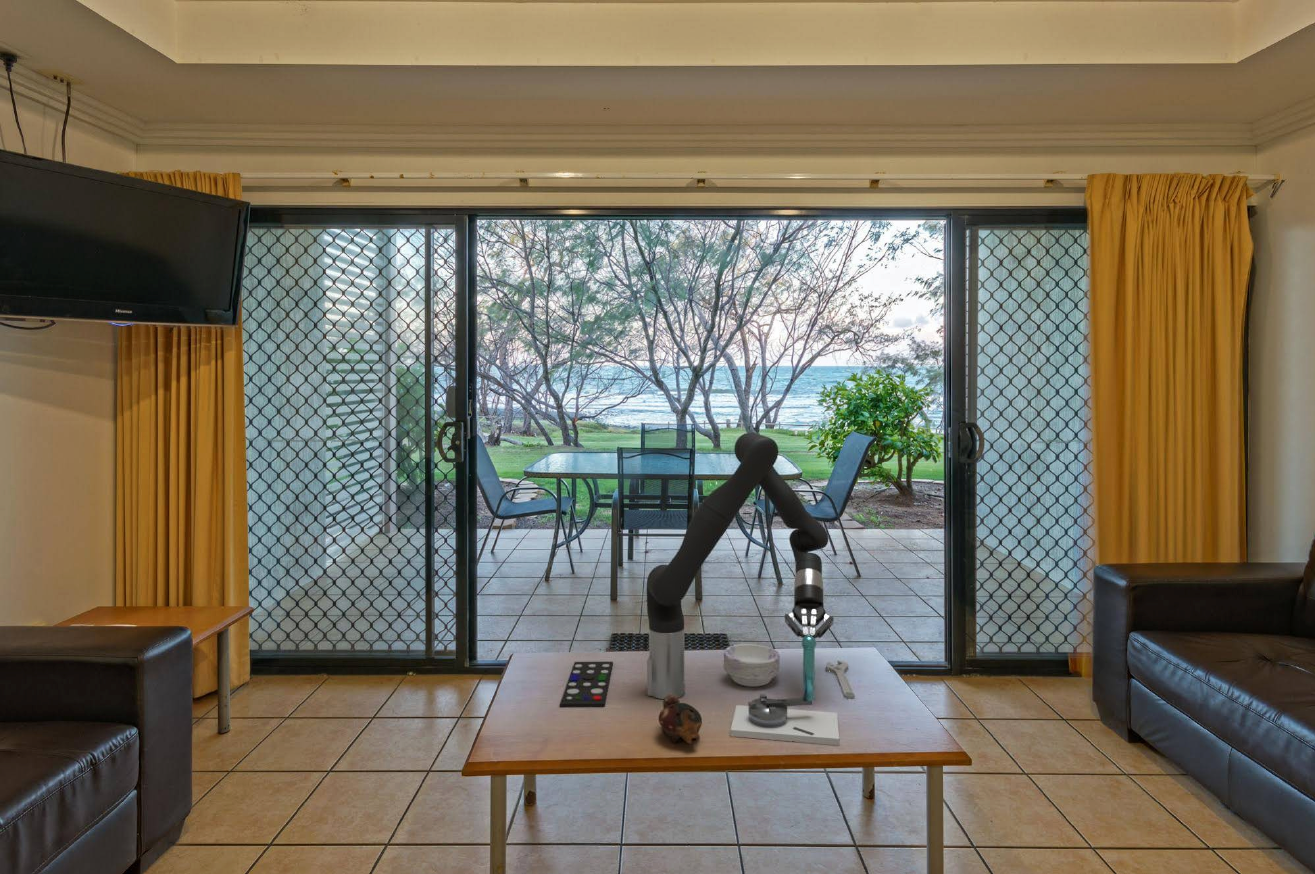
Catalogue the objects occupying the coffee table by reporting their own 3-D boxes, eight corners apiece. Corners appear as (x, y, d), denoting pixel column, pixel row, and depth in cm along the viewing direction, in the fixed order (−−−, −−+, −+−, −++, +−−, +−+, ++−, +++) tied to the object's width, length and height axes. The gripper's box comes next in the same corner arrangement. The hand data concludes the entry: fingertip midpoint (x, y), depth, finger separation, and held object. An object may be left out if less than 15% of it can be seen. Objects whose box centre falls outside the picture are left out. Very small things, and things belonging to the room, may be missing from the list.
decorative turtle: (681, 720, 176) (684, 688, 176) (714, 751, 163) (717, 716, 162) (645, 726, 172) (647, 693, 171) (676, 758, 158) (679, 723, 158)
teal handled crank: (754, 728, 168) (754, 645, 167) (744, 711, 177) (744, 633, 176) (822, 723, 170) (822, 641, 169) (809, 707, 179) (809, 629, 178)
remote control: (560, 709, 185) (559, 701, 184) (574, 666, 215) (574, 659, 215) (604, 709, 184) (604, 701, 184) (613, 666, 215) (612, 659, 215)
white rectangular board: (730, 736, 168) (730, 728, 168) (736, 711, 181) (736, 704, 181) (839, 745, 163) (839, 737, 163) (836, 718, 177) (836, 711, 177)
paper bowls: (790, 686, 198) (790, 656, 197) (740, 694, 192) (740, 664, 191) (761, 667, 212) (761, 640, 211) (713, 675, 206) (713, 647, 205)
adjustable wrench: (855, 702, 188) (855, 695, 188) (830, 700, 189) (830, 693, 189) (847, 666, 213) (847, 660, 212) (824, 665, 214) (824, 659, 214)
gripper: (783, 581, 194) (781, 642, 182) (834, 583, 191) (836, 645, 180) (783, 596, 199) (782, 656, 188) (833, 598, 197) (835, 659, 185)
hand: (809, 651), depth 184 cm, fingers closed
